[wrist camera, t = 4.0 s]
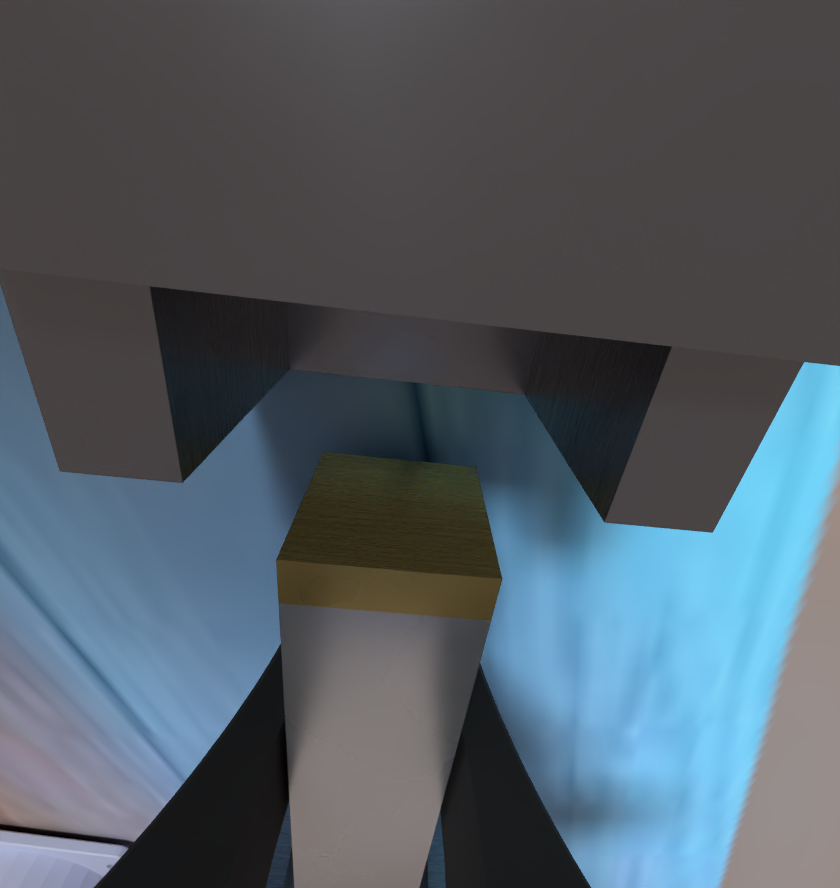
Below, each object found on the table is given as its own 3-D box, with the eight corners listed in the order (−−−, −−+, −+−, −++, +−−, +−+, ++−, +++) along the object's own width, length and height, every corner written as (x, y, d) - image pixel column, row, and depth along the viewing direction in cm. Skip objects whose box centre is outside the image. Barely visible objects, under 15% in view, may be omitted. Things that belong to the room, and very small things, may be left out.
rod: (395, 870, 17) (391, 992, 14) (319, 866, 17) (299, 989, 14) (476, 467, 8) (501, 579, 6) (323, 452, 8) (276, 560, 6)
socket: (574, 388, 9) (750, 572, 4) (237, 352, 8) (7, 506, 4) (658, 102, 7) (1238, -210, 2) (211, 37, 6) (-409, -530, 2)
